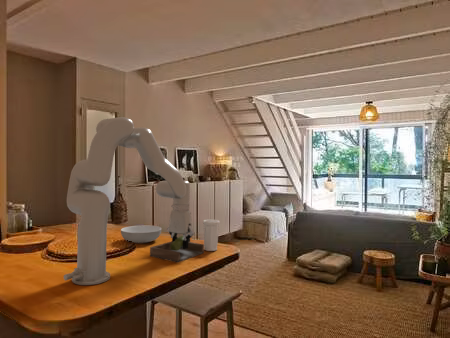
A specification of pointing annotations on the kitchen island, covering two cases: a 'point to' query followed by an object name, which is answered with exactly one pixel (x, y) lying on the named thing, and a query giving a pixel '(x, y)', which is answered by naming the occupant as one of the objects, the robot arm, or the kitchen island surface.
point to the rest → (176, 252)
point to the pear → (177, 243)
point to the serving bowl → (141, 233)
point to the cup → (211, 234)
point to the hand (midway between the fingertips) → (180, 247)
